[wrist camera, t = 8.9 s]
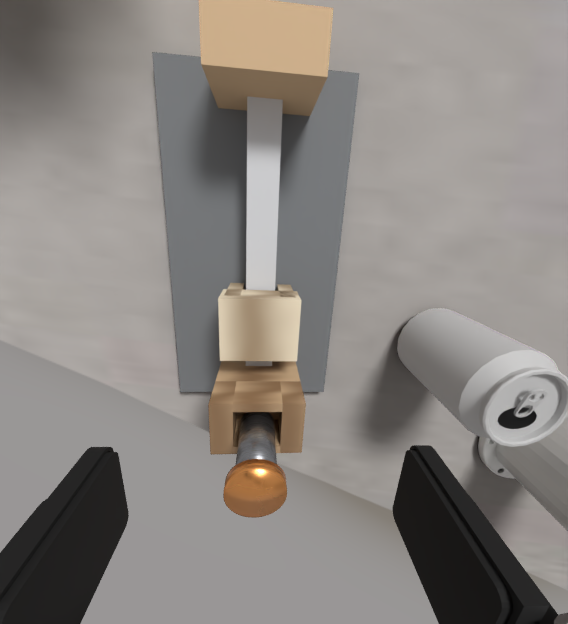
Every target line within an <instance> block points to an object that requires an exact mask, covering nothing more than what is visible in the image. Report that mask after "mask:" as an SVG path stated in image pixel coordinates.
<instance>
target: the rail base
mask: <svg viewBox="0 0 568 624" xmlns="http://www.w3.org/2000/svg"><path fill="white" fill-rule="evenodd" d="M332 17H333V8H329V7H321V6H313V5H304V4H296V3H288V2H280V1H272V0H199V19H200V46H201V57H196V56H186V55H176V54H167V53H157V52H152V54H153V67H154V79H155V91H156V103H157V115H158V127H159V140H160V152H161V164H162V176H163V188H164V200H165V212H166V225H167V237H168V249H169V261H170V273H171V285H172V297H173V310H174V322H175V334H176V346H177V358H178V370H179V383H180V392H212V391H213V388H214V384H215V381H216V378H217V374H218V371H219V368H220V364H221V361H220V347H219V310H218V298H219V296H220V294H221V293H222V291H223V289H228V287H229V285H230V283H244V290H272V291H277V284H282V285H291V287H292V289H293V291H297V292H298V295H299V297H300V299H301V314H300V328H299V341H298V355H297V361H296V365H297V369H298V373H299V378H300V382H301V386H302V390H303V392H324V384H325V375H326V366H327V357H328V348H329V339H330V330H331V321H332V312H333V303H334V294H335V285H336V276H337V267H338V258H339V250H340V241H341V232H342V223H343V214H344V205H345V196H346V187H347V178H348V169H349V160H350V151H351V142H352V133H353V124H354V115H355V106H356V97H357V88H358V80H359V73H352V72H342V71H332V70H328V66H329V54H330V42H331V29H332ZM246 366H272V361H246Z"/></svg>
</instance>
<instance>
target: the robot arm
mask: <svg viewBox="0 0 568 624" xmlns="http://www.w3.org/2000/svg"><path fill="white" fill-rule="evenodd" d="M478 451H479V455H480V458H481V460H482V461H483V463H484V464H485V465H486V466H487V467H488V468H489V469H490V470H491V471H492V472H493V473H495V474H496V475H498V476H501V477H504V478H512V479H517V480H518V481H519V482H520V483H521V484H522V485H523V487H524V488H525V489H526V490H527V491H528V492H529V493H530V494H531V495H532V496H533V497H534V498H535V499H536V500H537V501H538V502H539V503H540V504H541V505H542V506H543V507H544V508H545V509H546V510H547V511H548V512H549V513H550V514H551V515H552V516H553V517H554V518H555V519H556V520H557V521H558V522H559V523H560V524H561V525H562V526H563V527H564V528H565V529H566V530H567V531H568V415H567V417H566V418H565V420H564V421H563V423H562V424H561V425H560V426H559V427H558V428H557V429H555V430H554V431H553V432H552V433H551V434H549V435H548V436H546V437H544V438H543V439H541V440H539V441H537V442H534V443H531V444H528V445H525V446H516V447H509V446H503V445H499V444H497V443H495V442H494V441H492V440H490V439H489V438H486V437H480V438H479V444H478ZM393 516H394V519H395V522H396V524H397V527H398V529H399V531H400V534H401V536H402V538H403V541H404V543H405V545H406V548H407V550H408V552H409V555H410V557H411V559H412V562H413V564H414V566H415V569H416V571H417V573H418V576H419V578H420V580H421V583H422V585H423V587H424V590H425V592H426V594H427V596H428V599H429V601H430V604H431V606H432V608H433V611H434V613H435V615H436V618H437V620H438V622H439V624H568V613H564V614H559V615H558V614H557V613H556V611H555V610H554V609H553V607H552V606H551V605H550V603H549V602H548V601H547V599H546V598H545V596H544V595H543V594H542V593H541V592H540V590H539V589H538V587H537V586H536V584H535V583H534V582H533V580H532V579H531V578H530V576H529V575H528V574H527V572H526V571H525V570H524V568H523V567H522V566H521V564H520V563H519V562H518V560H517V559H516V557H515V556H514V555H513V553H512V552H511V551H510V549H509V548H508V547H507V545H506V544H505V543H504V541H503V540H502V539H501V537H500V536H499V535H498V533H497V532H496V531H495V529H494V528H493V527H492V525H491V524H490V523H489V521H488V520H487V518H486V517H485V516H484V514H483V513H482V512H481V510H480V509H479V508H478V506H477V505H476V504H475V502H474V501H473V500H472V499H471V497H470V496H469V495H468V494H467V493H466V492H465V490H464V489H463V487H462V486H461V485H460V483H459V482H458V481H457V479H456V478H455V477H454V475H453V474H452V473H451V471H450V470H449V469H448V467H447V466H446V464H445V463H444V462H443V460H442V459H441V458H440V456H439V455H438V454H437V452H436V451H435V450H434V449H433V447H431V446H411V448H410V450H407V451H406V454H405V458H404V462H403V467H402V471H401V475H400V479H399V484H398V488H397V492H396V496H395V501H394V505H393ZM127 521H128V508H127V502H126V497H125V490H124V485H123V479H122V473H121V468H120V462H119V457H118V453H117V452H114V451H113V448H111V447H91V448H89V449H87V451H86V452H85V453H84V454H83V455H82V456H81V458H80V459H79V460H78V462H77V463H76V464H75V465H74V467H73V468H72V469H71V470H70V472H69V473H68V474H67V475H66V476H65V478H64V479H63V480H62V481H61V483H60V484H59V485H58V487H57V488H56V489H55V490H54V491H53V493H52V494H51V495H50V496H49V498H48V499H46V500H45V501H43V502H42V503H41V504H40V505H39V506H38V507H37V509H36V510H35V511H34V513H33V514H32V515H31V516H30V517H29V518H28V520H27V521H26V522H25V523H24V524H23V526H22V527H21V528H20V530H19V531H18V532H17V533H16V534H15V536H14V537H13V538H12V539H11V540H10V542H9V543H8V544H7V545H6V547H5V548H4V549H3V550H2V551H1V553H0V624H80V623H81V621H82V619H83V617H84V615H85V612H86V610H87V608H88V606H89V604H90V602H91V599H92V598H93V595H94V593H95V591H96V589H97V587H98V585H99V583H100V580H101V578H102V576H103V574H104V572H105V570H106V568H107V566H108V563H109V561H110V559H111V557H112V555H113V553H114V551H115V549H116V546H117V544H118V542H119V540H120V538H121V536H122V533H123V532H124V529H125V527H126V524H127Z"/></svg>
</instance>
